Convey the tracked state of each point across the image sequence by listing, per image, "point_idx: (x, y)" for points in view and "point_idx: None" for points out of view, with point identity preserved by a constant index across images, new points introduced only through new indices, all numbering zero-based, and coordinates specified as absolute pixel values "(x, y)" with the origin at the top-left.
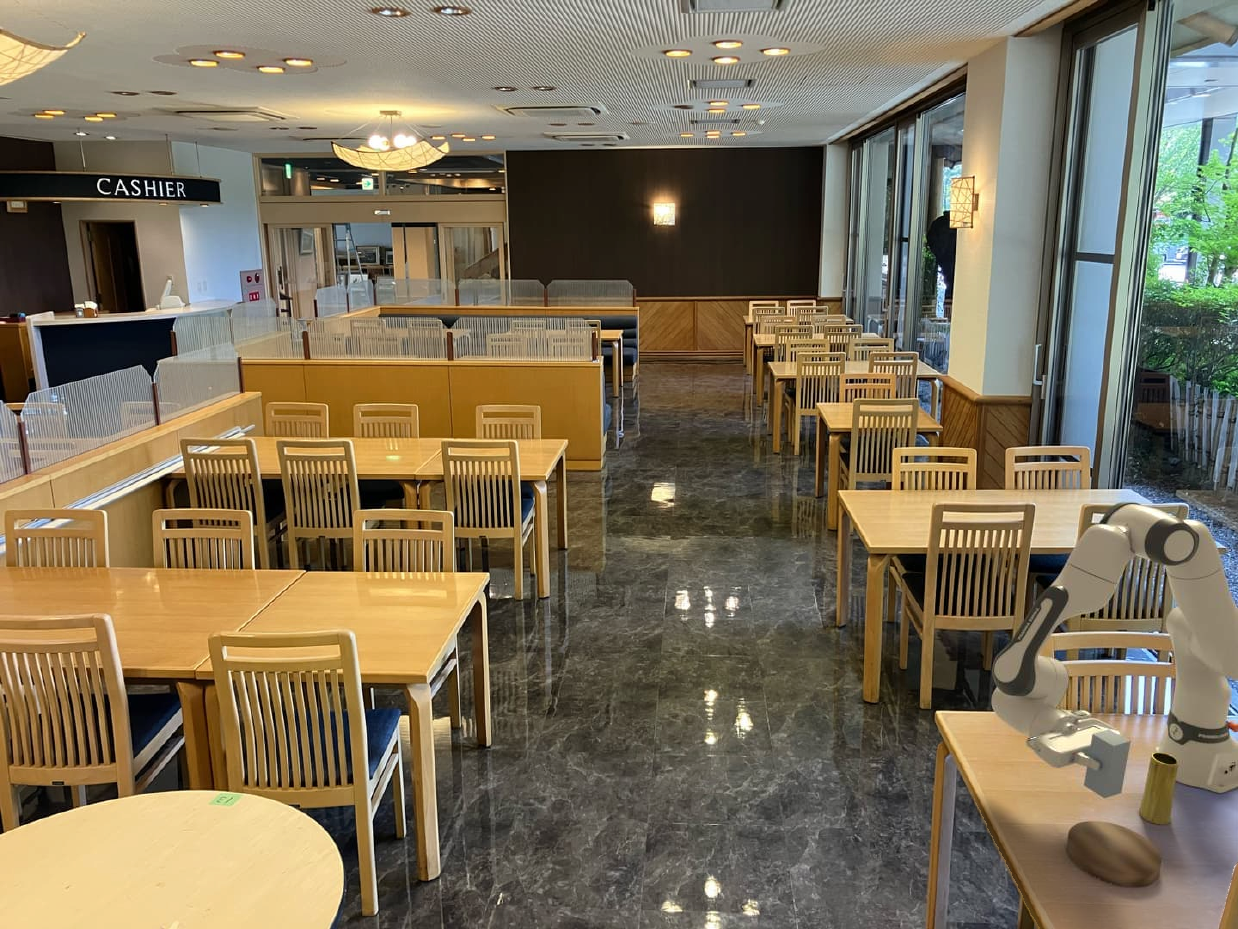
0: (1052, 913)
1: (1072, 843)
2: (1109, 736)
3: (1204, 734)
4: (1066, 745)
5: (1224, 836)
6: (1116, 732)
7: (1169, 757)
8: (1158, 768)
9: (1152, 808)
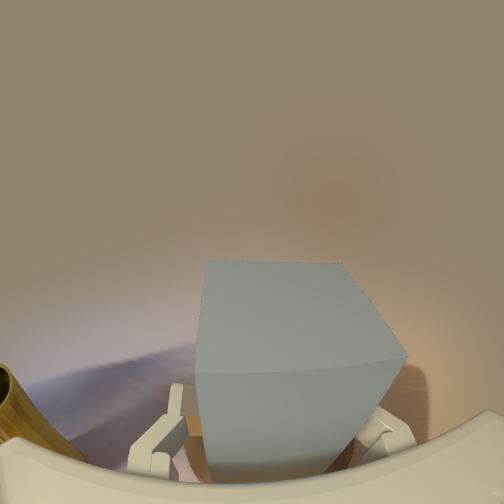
0: (419, 372)
1: (349, 453)
2: (298, 310)
3: None
4: (459, 468)
5: (41, 383)
6: (11, 464)
7: None
8: (19, 405)
9: (73, 457)
